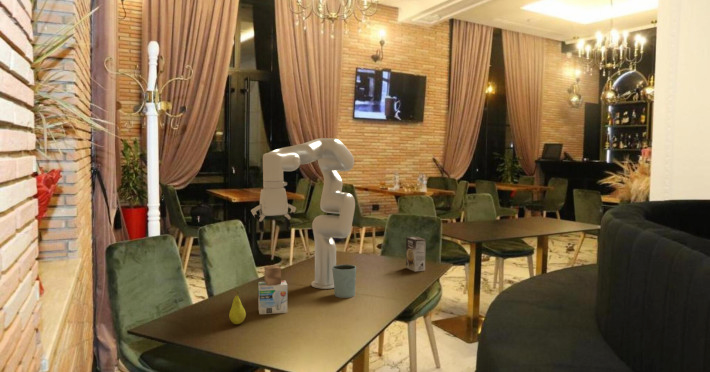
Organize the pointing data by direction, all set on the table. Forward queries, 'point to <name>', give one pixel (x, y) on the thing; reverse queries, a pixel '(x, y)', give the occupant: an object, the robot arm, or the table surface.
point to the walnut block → (272, 275)
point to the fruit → (237, 311)
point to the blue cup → (344, 280)
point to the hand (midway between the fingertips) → (274, 230)
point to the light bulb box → (272, 298)
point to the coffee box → (415, 253)
